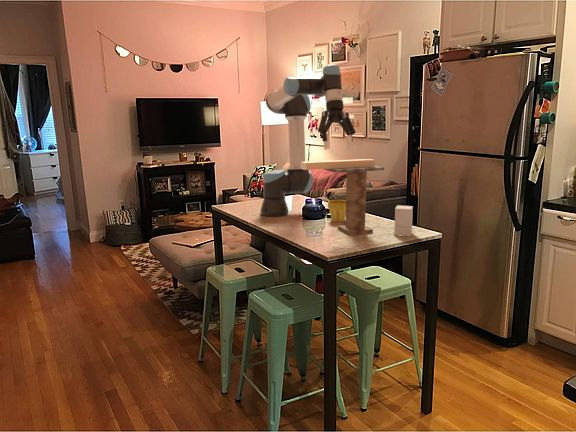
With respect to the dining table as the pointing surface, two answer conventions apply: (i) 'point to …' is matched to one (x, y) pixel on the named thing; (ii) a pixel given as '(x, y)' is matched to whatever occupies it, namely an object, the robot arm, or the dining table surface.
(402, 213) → the supplement box
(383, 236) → the dining table surface
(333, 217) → the plant pot
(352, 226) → the shelf stand
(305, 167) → the tan rectangular bar
